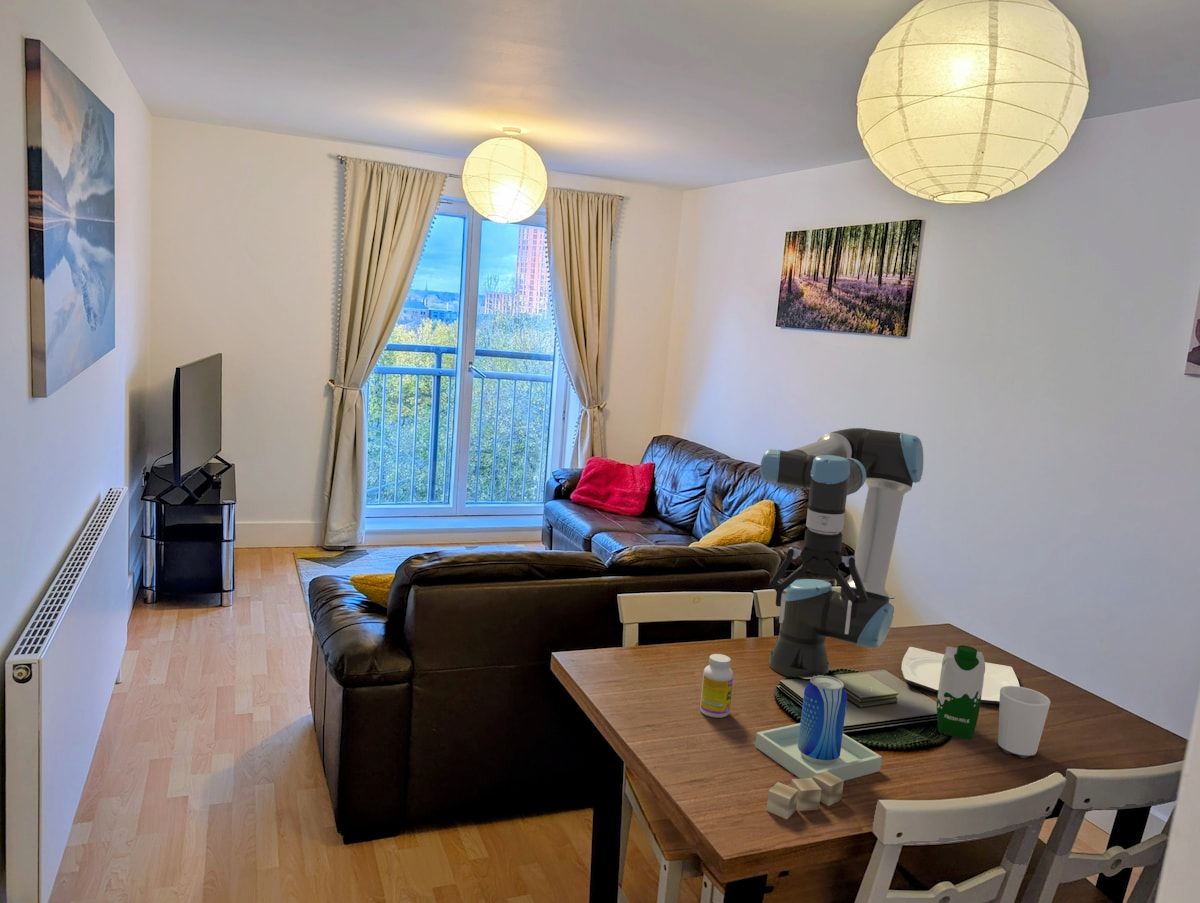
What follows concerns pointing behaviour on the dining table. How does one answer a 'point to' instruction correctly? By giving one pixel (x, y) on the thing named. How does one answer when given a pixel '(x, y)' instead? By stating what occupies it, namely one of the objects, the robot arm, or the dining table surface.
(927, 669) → the plate
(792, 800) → the beech cube
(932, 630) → the dining table surface
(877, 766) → the tray
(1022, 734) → the cup
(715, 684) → the supplement bottle
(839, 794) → the beech cube
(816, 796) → the beech cube
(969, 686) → the milk carton
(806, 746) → the beer can
